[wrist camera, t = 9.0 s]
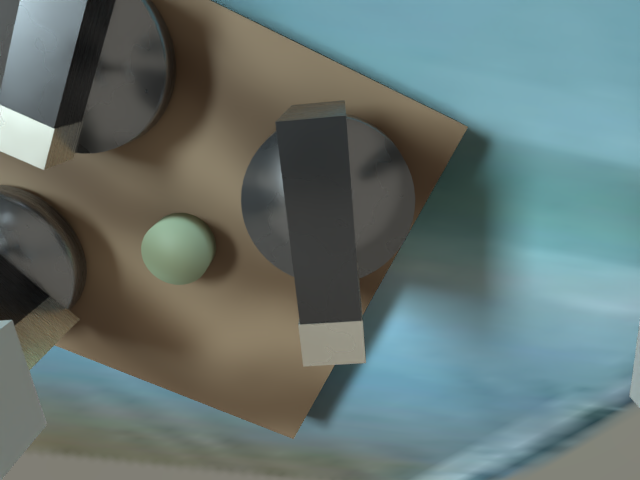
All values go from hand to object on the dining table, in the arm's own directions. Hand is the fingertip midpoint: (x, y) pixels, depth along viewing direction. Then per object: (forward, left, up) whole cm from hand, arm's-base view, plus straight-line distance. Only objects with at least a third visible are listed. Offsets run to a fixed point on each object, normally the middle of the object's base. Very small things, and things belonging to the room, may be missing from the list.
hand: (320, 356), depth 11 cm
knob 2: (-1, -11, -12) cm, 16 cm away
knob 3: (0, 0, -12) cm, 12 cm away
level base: (+4, -6, -14) cm, 16 cm away
